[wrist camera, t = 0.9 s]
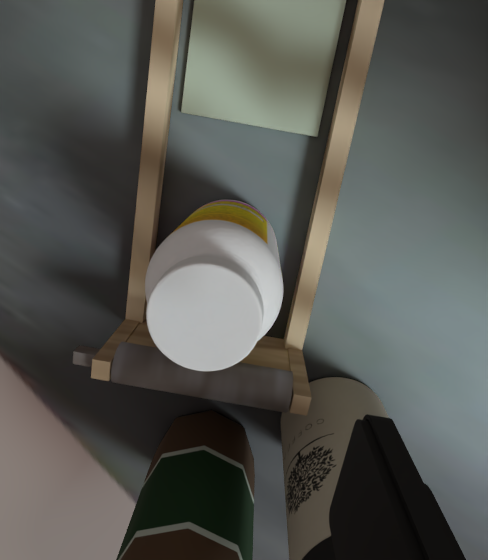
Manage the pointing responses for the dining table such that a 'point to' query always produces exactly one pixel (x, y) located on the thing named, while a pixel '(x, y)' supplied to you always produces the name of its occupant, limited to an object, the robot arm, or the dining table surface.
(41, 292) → the dining table surface
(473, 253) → the dining table surface
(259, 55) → the frame
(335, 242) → the dining table surface
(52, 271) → the dining table surface
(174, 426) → the beer bottle
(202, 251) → the supplement bottle
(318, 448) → the travel mug
